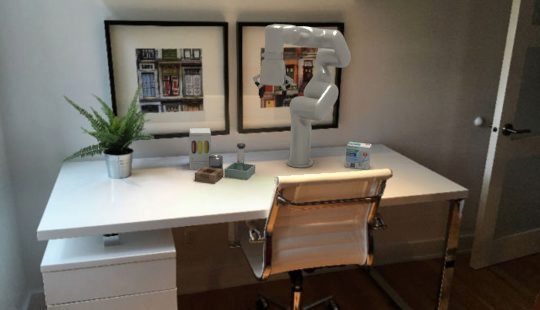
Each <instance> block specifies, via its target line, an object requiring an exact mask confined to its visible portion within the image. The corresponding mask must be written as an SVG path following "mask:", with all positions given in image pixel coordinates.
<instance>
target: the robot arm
mask: <svg viewBox="0 0 540 310" xmlns="http://www.w3.org/2000/svg"><path fill="white" fill-rule="evenodd" d="M264 31H265V32H264V52H263V53H261V55H260V57H263V59H262V60H261V64H260V65H261V66H260V71H259V72H260V73H259V74H258V75H255V76H253V77H252V80H253V82H254V84H255V86H256V88H257V89H258V97H259V99H262V98H264V97H265V96H264V90H265V89H264V86H271V87H275V86H276V87H281V89H282V90H281V101H285V100H286V99H287V95H288V90H289V89H290V88H291V87H292V85H293V83H294V82H295V81H294V79H293V78H291V77H290V76H288V75H287V72H286V63H285V60H284V45H292V46H297V47H305V48H312V49H313V48H314V49H318V50H317V53H316V55H315V61H316V62H315V63H316V65H315V66H316V70H315V71H316V72H315V73H314V75H313V76H312V77H311V79H310V80H309V82H307V85H306V86H305V88H304V90H303V96H302V95H301V96H295V97H293V98H292V99H291V101H290V102H289V115H290V143H289V144H290V145H289V158H287V159H286V161H285V163H286V165H287V166H289V167H291V168H292V167H293V168H297V169H298V168H299V169H301V168H302V169H303V168H311V167H312V166H313V165H314V160H312V159H311V148H312V147H311V145H312V132H313V131H312V123H311V121H315V122H319V121H322V120H324V119H325V118H326V117H327V116H328V114H329V112H330V110H331V109H332V108H333V106H334V105H335V104H336V102H337V100H338V96H339V88H338V86H337V85H336V84H335V83H334V82H332V80H333V76H332V72H331V69H330V67H333V68H346V67H348V66H349V65H350V63H351V61H352V55H351V51H350V49H349V46H348V44H347V41H346V40H345V37H344V35H343V33H342V32H341V31H340V30H338V29H326V28H325V29H324V28H318V27H310V26H304V25H303V26H296V25H295V24H294V25H293V24H284V23H283V24H282V23H281V24H280V23H279V24H278V23H273V24H269V25H267V26H265V28H264ZM258 79H259V80H258ZM286 81H287V82H288V83H287V84H286ZM310 120H311V121H310Z"/></svg>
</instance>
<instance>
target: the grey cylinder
mask: <svg viewBox="0 0 540 310" xmlns="http://www.w3.org/2000/svg"><path fill="white" fill-rule="evenodd" d="M223 163H224V156H222V155H220V154H211V156H209V167H211V168H218V169H223V170H224V164H223Z"/></svg>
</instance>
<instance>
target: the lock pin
mask: <svg viewBox="0 0 540 310" xmlns="http://www.w3.org/2000/svg"><path fill="white" fill-rule="evenodd" d="M236 147H237V156H236V157H237V158H236V162H237V170H241V171H244V163H245V148H246V144H245V143H243V142H240V143H239V142H238V143H236Z"/></svg>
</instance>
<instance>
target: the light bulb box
mask: <svg viewBox="0 0 540 310" xmlns="http://www.w3.org/2000/svg"><path fill="white" fill-rule="evenodd" d="M371 154H372V144H371V143H364V142H355V141H348V143H347V145H346V152H345V160H344V162H345V164H344V167H345V168H350V169H357V170H358V169H359V170H364V169H365V170H367V171H368V169H369V168H370V164H371Z"/></svg>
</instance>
